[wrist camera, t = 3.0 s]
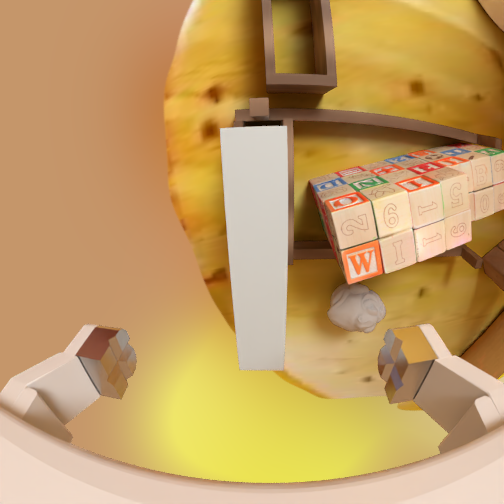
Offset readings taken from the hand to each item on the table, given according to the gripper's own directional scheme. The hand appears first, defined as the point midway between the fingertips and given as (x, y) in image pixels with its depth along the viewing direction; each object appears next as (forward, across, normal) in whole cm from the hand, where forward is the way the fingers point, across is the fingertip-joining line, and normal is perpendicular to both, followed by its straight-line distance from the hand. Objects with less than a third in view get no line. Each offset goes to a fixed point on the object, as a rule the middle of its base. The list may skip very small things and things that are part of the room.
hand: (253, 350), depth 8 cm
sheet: (+24, 0, 0) cm, 24 cm away
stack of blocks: (+25, -16, -1) cm, 29 cm away
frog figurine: (+25, -10, +14) cm, 30 cm away
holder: (+24, -4, -18) cm, 31 cm away
